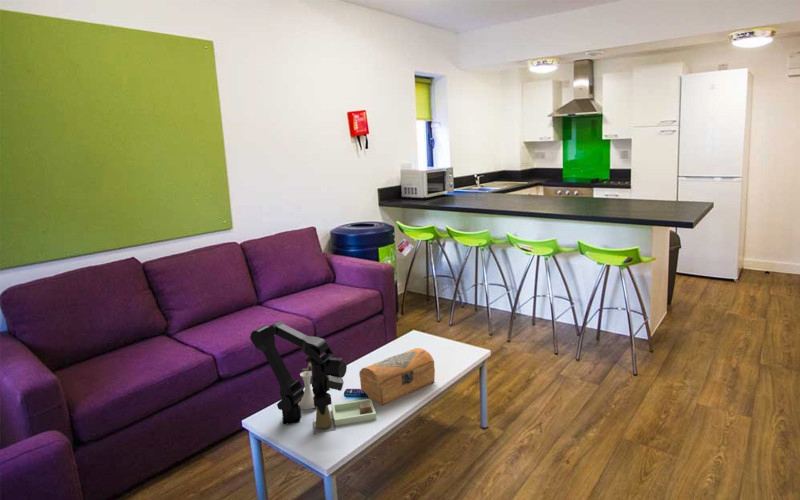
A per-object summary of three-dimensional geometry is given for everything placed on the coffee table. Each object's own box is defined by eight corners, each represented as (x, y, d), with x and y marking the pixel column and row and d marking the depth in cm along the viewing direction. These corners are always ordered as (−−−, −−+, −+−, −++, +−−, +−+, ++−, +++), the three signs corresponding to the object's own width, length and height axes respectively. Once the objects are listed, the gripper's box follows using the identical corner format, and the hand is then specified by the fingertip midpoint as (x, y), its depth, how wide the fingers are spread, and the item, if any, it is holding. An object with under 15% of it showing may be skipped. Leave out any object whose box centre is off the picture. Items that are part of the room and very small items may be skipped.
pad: (314, 434, 186) (314, 433, 186) (312, 422, 194) (312, 421, 194) (335, 430, 188) (335, 429, 188) (333, 419, 196) (333, 418, 196)
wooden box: (382, 408, 203) (381, 376, 200) (359, 393, 216) (357, 363, 213) (437, 383, 221) (436, 354, 218) (413, 371, 234) (412, 343, 231)
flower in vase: (307, 415, 200) (301, 356, 194) (289, 406, 207) (283, 349, 202) (331, 401, 209) (327, 345, 204) (314, 393, 217) (309, 339, 211)
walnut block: (361, 417, 195) (360, 408, 195) (359, 412, 199) (359, 403, 198) (371, 416, 196) (370, 406, 195) (369, 410, 200) (369, 401, 199)
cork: (314, 421, 192) (311, 395, 190) (329, 417, 195) (327, 391, 192) (317, 429, 187) (315, 402, 185) (333, 425, 189) (331, 399, 187)
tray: (334, 426, 191) (334, 420, 190) (331, 410, 202) (331, 404, 202) (376, 419, 194) (376, 413, 194) (371, 404, 206) (370, 398, 205)
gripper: (344, 381, 179) (346, 420, 182) (338, 359, 197) (341, 396, 200) (312, 385, 177) (315, 425, 180) (309, 363, 195) (312, 400, 198)
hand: (322, 411), depth 190 cm, fingers closed on cork, 5 cm apart
